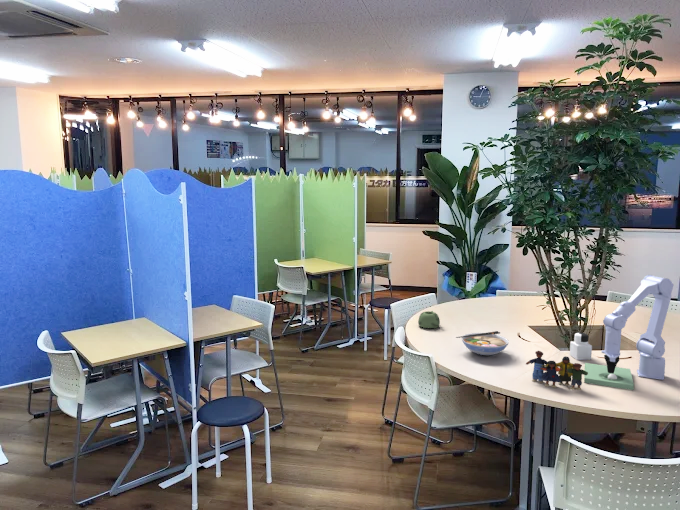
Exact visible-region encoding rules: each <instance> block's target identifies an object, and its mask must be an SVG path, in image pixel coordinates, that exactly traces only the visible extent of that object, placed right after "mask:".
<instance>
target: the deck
mask: <svg viewBox="0 0 680 510" xmlns="http://www.w3.org/2000/svg"><path fill="white" fill-rule="evenodd" d="M584 371H586V372H588V375H587V376H586V375H583V378H584V382H583V383H584V384H592V385H597V386H602V387H603V386H605V387H609V388H610V387H611V388H618V389H624V390H630V391H634V387H635V384H634V379H633V375H632V371H631V369H630V368H624V367H617V366H616V367H615V371H614V373H608V370H607V365H603V364H596V363H589V362H584ZM609 374H615V375H616V376H617V379H608V375H609Z"/></svg>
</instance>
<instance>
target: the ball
mask: <svg viewBox="0 0 680 510" xmlns="http://www.w3.org/2000/svg"><path fill="white" fill-rule="evenodd" d="M608 379H617V376H616V375H615V374H609V375H608Z"/></svg>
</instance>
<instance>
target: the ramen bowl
mask: <svg viewBox="0 0 680 510" xmlns="http://www.w3.org/2000/svg"><path fill="white" fill-rule="evenodd" d="M500 334H501V332H500V331H497V330H495V331H488V332H471V333H467V334H466V333H465V334H464V335H462V336H456V338H457V339H458V338H459V339H460V338H461V340H462V343H463V345H464V346H465V347H466V349H468V350H469V351H471V352H472V353H475V354H477V355H479V354H480V355H479V356H482V355H490V356H492V355H498V354H499V353H501V352H502V351H504V350H505V349H506V348H507V346H508V345H509V339H507V338H506V337H504V336H501V335H500Z"/></svg>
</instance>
